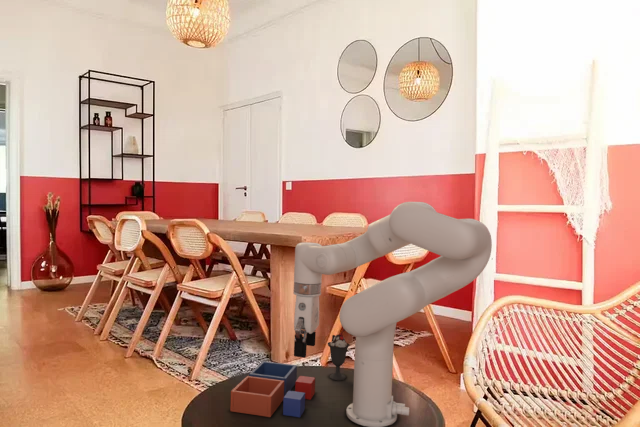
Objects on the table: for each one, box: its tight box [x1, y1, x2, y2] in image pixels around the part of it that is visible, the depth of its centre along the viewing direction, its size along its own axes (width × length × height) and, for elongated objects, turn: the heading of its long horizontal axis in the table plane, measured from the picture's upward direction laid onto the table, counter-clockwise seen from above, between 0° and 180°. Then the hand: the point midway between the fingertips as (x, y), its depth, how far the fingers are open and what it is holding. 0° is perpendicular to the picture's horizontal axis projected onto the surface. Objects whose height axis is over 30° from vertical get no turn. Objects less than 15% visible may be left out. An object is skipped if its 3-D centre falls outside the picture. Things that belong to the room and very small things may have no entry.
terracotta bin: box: [230, 375, 284, 418], centre depth 121 cm, size 11×11×5 cm
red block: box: [294, 375, 316, 400], centre depth 128 cm, size 4×4×4 cm
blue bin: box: [248, 360, 298, 396], centre depth 133 cm, size 11×11×5 cm
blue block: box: [282, 390, 306, 418], centre depth 118 cm, size 4×4×4 cm
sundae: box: [327, 328, 351, 381], centre depth 141 cm, size 7×7×15 cm
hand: (304, 350), depth 128 cm, fingers open, 9 cm apart
